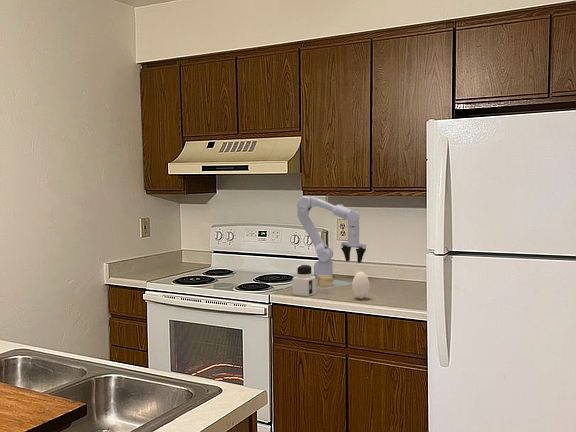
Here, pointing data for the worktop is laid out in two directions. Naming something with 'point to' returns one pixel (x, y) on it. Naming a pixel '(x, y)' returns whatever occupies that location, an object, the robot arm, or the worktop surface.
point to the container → (304, 281)
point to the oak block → (325, 280)
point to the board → (337, 282)
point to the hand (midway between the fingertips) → (353, 261)
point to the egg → (360, 285)
